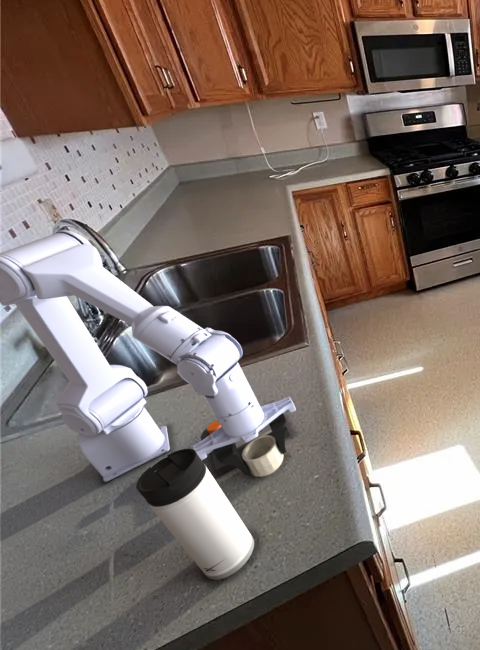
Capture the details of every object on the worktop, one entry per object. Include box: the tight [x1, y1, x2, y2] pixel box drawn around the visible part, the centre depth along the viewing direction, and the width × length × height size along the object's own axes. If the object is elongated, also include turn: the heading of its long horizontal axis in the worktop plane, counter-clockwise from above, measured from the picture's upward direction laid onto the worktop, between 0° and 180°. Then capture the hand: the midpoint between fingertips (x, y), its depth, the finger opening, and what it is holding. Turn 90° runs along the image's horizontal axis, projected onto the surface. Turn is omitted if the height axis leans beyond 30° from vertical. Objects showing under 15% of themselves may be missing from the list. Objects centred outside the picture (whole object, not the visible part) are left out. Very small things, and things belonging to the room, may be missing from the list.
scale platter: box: [235, 399, 276, 450], centre depth 77 cm, size 8×8×1 cm
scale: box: [199, 427, 292, 476], centre depth 78 cm, size 13×11×3 cm
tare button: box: [206, 419, 221, 434], centre depth 77 cm, size 2×2×2 cm
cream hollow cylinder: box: [242, 435, 285, 478], centre depth 72 cm, size 5×5×4 cm
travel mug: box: [135, 448, 255, 581], centre depth 55 cm, size 6×7×20 cm
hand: (265, 459), depth 72 cm, fingers closed on cream hollow cylinder, 5 cm apart
